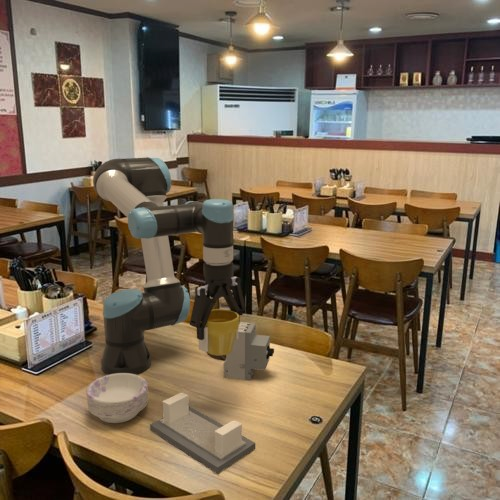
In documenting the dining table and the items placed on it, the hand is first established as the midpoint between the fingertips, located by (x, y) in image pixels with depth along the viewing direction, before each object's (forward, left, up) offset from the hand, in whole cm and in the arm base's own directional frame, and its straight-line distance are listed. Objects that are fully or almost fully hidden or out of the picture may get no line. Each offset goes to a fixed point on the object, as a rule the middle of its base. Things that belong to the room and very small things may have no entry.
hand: (219, 343), depth 134 cm
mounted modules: (+8, -14, -15) cm, 22 cm away
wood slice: (-22, +26, -18) cm, 38 cm away
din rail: (+8, -14, -16) cm, 23 cm away
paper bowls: (-16, -21, -18) cm, 32 cm away
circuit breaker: (-6, +18, -18) cm, 26 cm away
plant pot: (0, 0, -2) cm, 2 cm away
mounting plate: (+8, -14, -17) cm, 24 cm away
